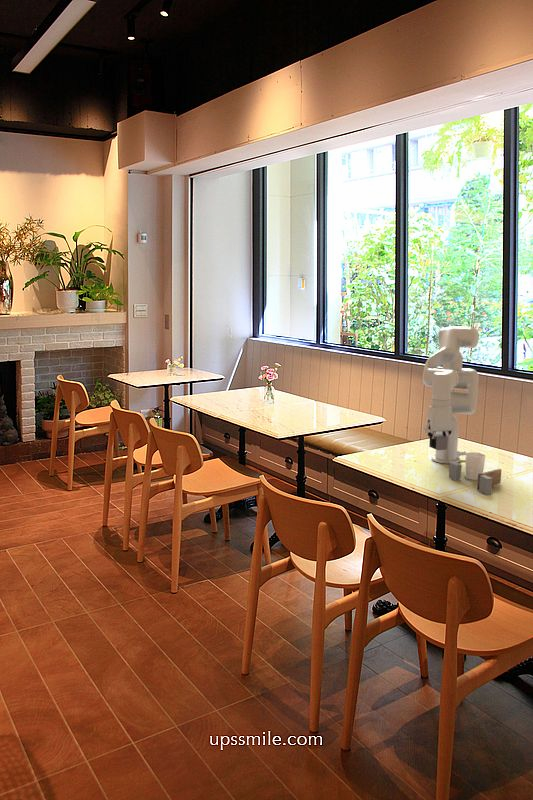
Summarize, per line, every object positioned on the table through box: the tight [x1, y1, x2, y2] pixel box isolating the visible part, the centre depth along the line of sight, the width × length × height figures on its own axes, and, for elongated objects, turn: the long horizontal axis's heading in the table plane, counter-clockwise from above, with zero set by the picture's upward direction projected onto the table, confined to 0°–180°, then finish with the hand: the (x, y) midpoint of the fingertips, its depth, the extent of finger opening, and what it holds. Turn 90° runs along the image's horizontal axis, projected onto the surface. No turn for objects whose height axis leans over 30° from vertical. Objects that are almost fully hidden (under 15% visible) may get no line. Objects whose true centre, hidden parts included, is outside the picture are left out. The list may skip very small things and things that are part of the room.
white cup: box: [465, 451, 486, 481], centre depth 312 cm, size 8×8×10 cm
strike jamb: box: [448, 462, 462, 481], centre depth 311 cm, size 2×5×6 cm, turn 21°
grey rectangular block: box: [428, 433, 448, 451], centre depth 302 cm, size 4×6×5 cm
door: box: [476, 468, 502, 491], centre depth 300 cm, size 2×14×6 cm, turn 127°
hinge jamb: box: [478, 475, 493, 496], centre depth 293 cm, size 2×5×6 cm, turn 21°
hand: (438, 446), depth 303 cm, fingers closed on grey rectangular block, 4 cm apart
